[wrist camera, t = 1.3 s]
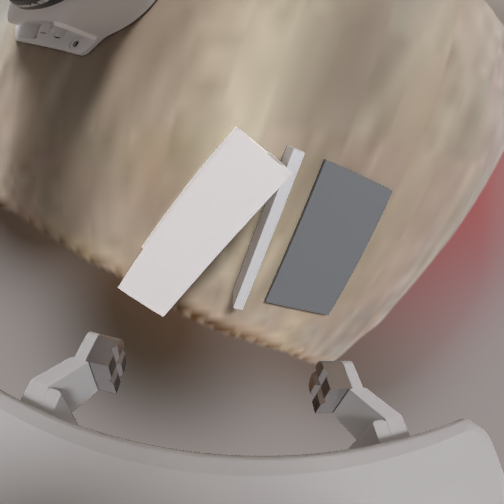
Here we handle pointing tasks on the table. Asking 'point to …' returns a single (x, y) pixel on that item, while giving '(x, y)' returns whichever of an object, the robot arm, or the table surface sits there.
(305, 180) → the table surface
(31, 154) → the table surface
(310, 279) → the mat
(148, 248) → the white boxy piece
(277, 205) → the low wall
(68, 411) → the robot arm
